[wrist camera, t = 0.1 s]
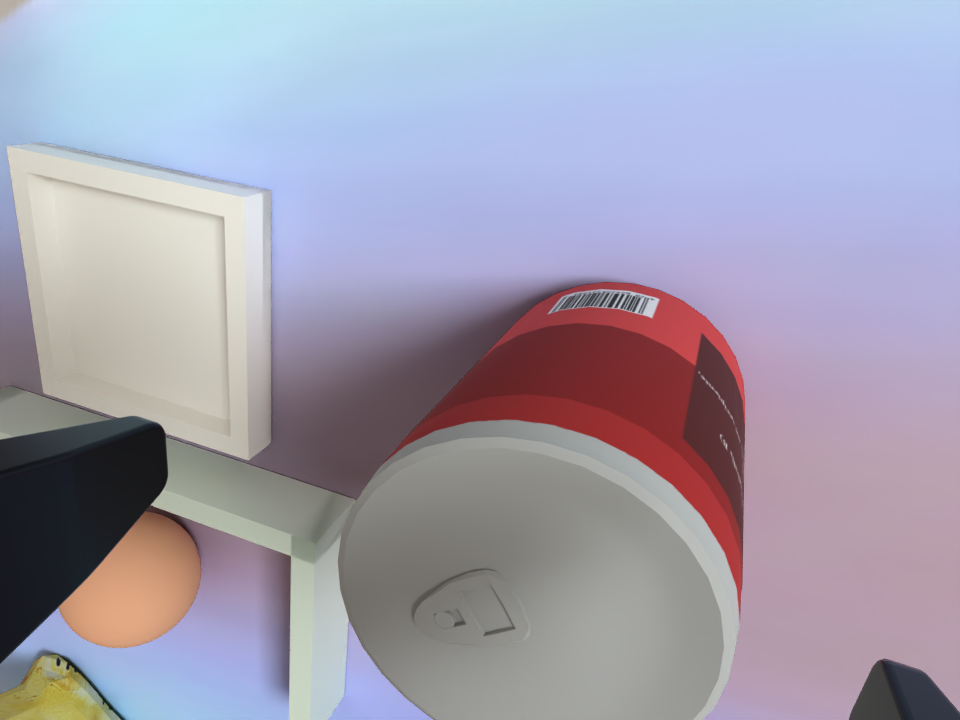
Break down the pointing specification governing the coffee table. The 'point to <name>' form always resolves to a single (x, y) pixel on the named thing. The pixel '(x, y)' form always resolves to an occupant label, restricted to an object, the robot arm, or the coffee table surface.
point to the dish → (149, 292)
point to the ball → (137, 586)
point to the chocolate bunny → (53, 695)
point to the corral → (247, 538)
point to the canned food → (563, 522)
